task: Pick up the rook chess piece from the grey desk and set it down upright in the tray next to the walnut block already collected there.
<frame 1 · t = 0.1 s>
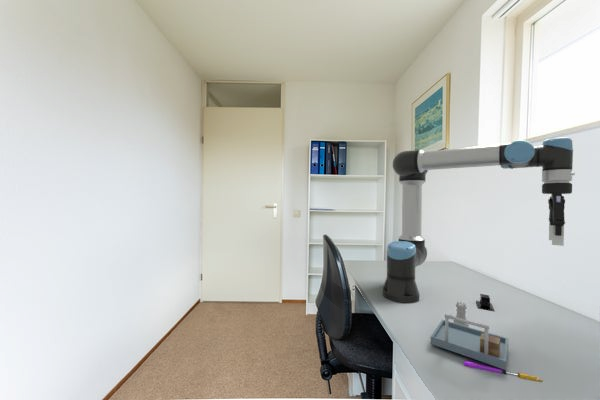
hand: (555, 242, 90), 28 cm above the table, fingers open, 13 cm apart
tray: (469, 348, 73), on the table
rook chess piece: (460, 327, 85), on the table
walnut block: (489, 353, 68), point 2 cm above the table, touching tray
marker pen: (499, 372, 64), on the table
black piece: (484, 307, 103), on the table
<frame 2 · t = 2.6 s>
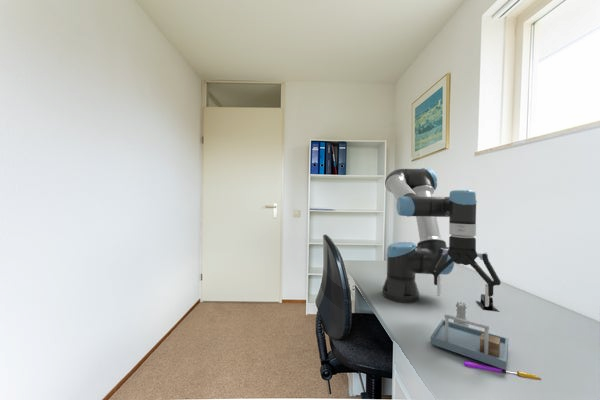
hand: (461, 300, 85), 9 cm above the table, fingers open, 13 cm apart
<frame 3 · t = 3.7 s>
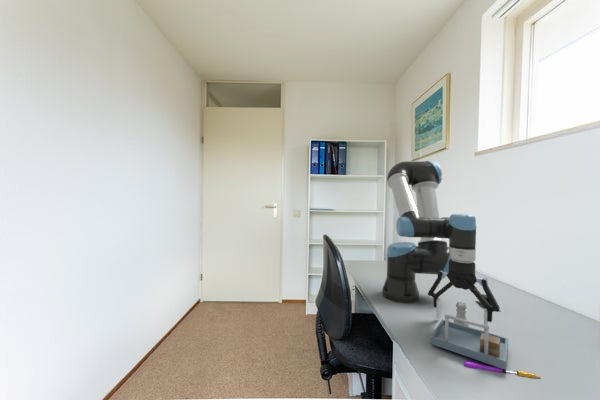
hand: (460, 323, 85), 1 cm above the table, fingers open, 13 cm apart
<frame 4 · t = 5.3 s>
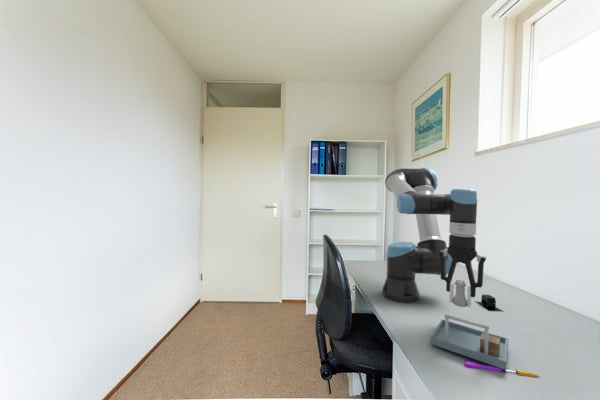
hand: (460, 303, 86), 8 cm above the table, fingers closed on rook chess piece, 4 cm apart
rook chess piece: (460, 305, 86), point 7 cm above the table, touching gripper
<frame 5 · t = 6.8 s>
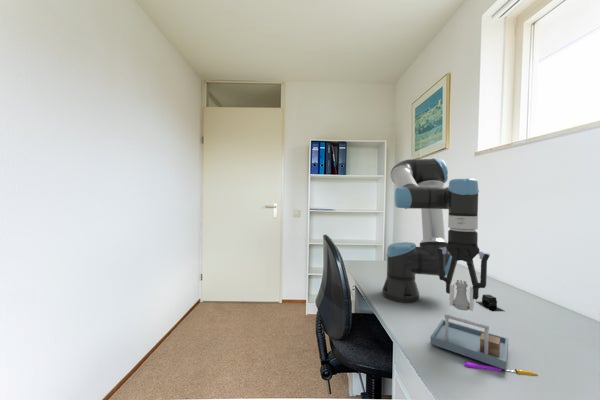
hand: (461, 306, 77), 10 cm above the table, fingers closed on rook chess piece, 4 cm apart
rook chess piece: (461, 308, 77), point 10 cm above the table, touching gripper
when the fingers open (3 cm above the table, at t = 8.6 s): rook chess piece stays where it is, resting on tray.
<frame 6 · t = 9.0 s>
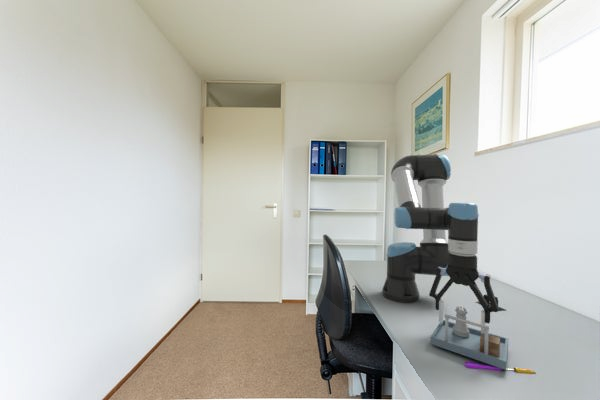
hand: (461, 326, 77), 4 cm above the table, fingers open, 10 cm apart
rook chess piece: (460, 335, 77), point 2 cm above the table, touching tray
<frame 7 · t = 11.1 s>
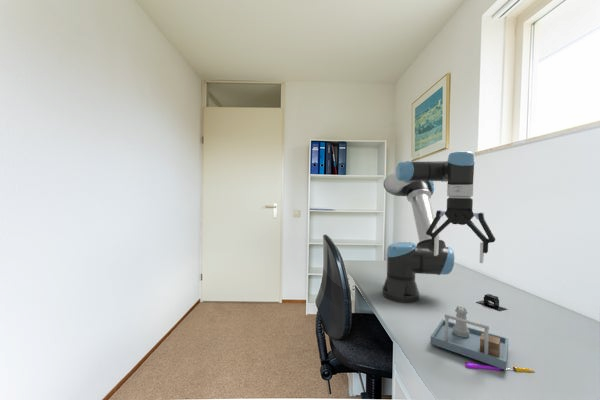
hand: (457, 258, 88), 22 cm above the table, fingers open, 13 cm apart
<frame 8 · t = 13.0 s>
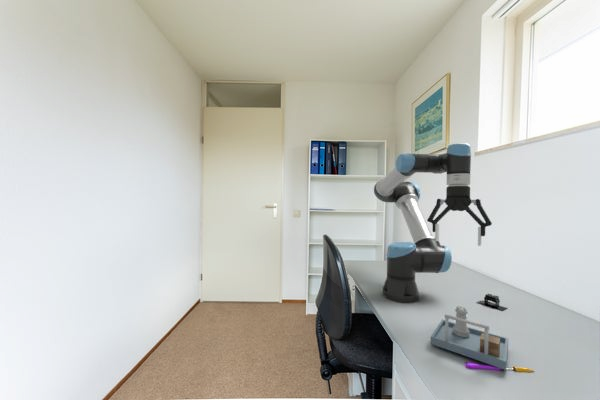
hand: (457, 243, 95), 27 cm above the table, fingers open, 13 cm apart
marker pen: (497, 369, 65), on the table, touching tray
at the end: rook chess piece inside the target area on the tray (3.8 cm from its centre), point 1.7 cm above the tray's base; rook chess piece tilted 0°; the gripper is holding nothing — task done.
